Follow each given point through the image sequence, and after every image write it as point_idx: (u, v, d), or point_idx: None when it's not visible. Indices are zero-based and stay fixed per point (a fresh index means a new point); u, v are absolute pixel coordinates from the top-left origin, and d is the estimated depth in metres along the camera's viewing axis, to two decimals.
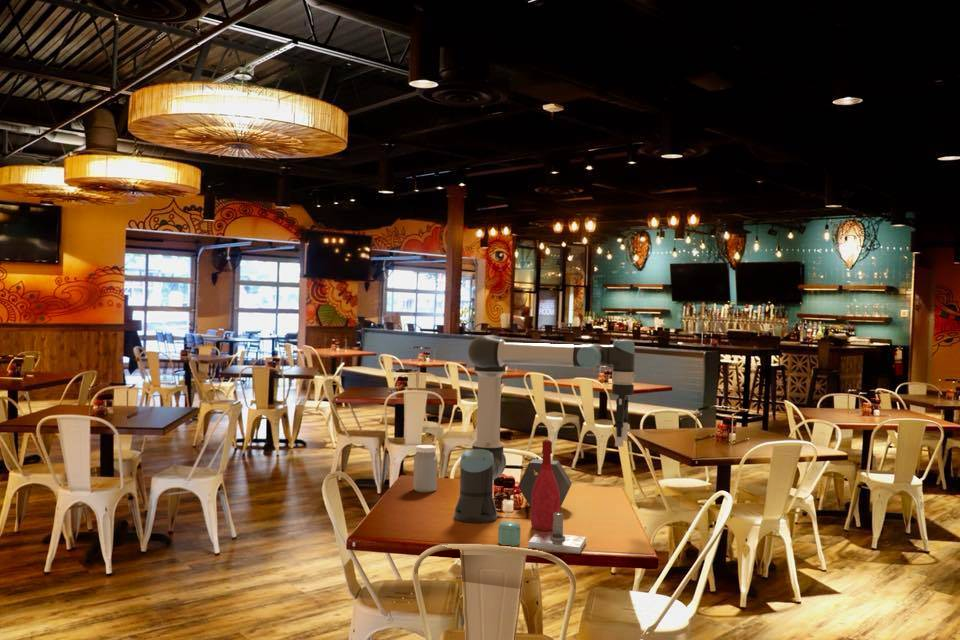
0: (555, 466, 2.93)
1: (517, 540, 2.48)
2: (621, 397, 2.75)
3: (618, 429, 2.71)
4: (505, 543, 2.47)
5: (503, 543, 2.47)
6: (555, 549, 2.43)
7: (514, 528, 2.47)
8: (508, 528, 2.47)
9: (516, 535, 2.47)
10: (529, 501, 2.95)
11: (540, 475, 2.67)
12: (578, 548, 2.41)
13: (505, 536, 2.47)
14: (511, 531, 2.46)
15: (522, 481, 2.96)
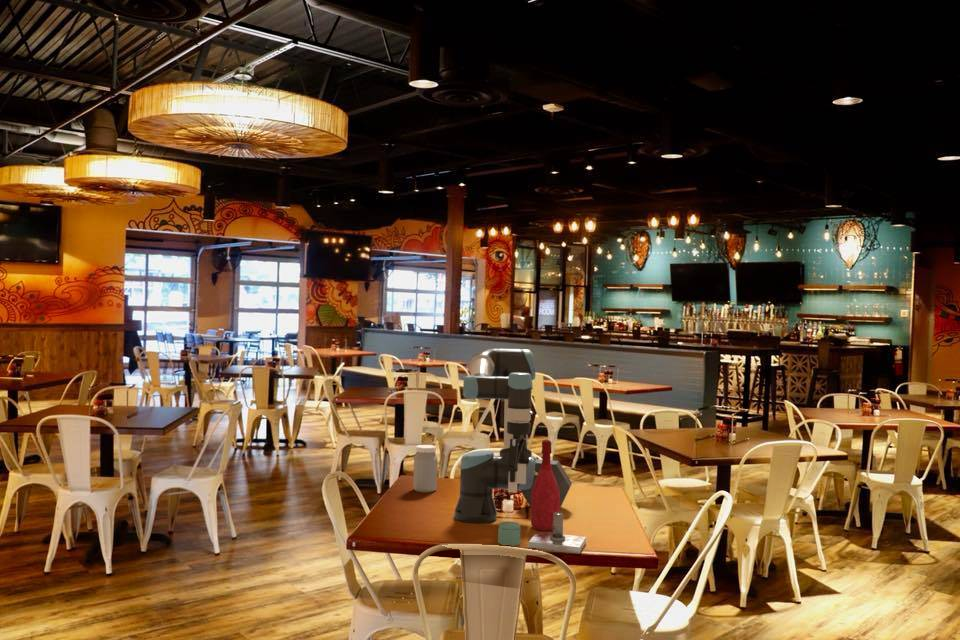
0: (555, 466, 2.93)
1: (517, 540, 2.48)
2: (516, 437, 2.48)
3: (511, 473, 2.43)
4: (505, 543, 2.47)
5: (503, 543, 2.47)
6: (555, 549, 2.43)
7: (514, 528, 2.47)
8: (508, 528, 2.47)
9: (516, 535, 2.47)
10: (529, 501, 2.95)
11: (540, 475, 2.67)
12: (578, 548, 2.41)
13: (505, 536, 2.47)
14: (511, 531, 2.46)
15: None
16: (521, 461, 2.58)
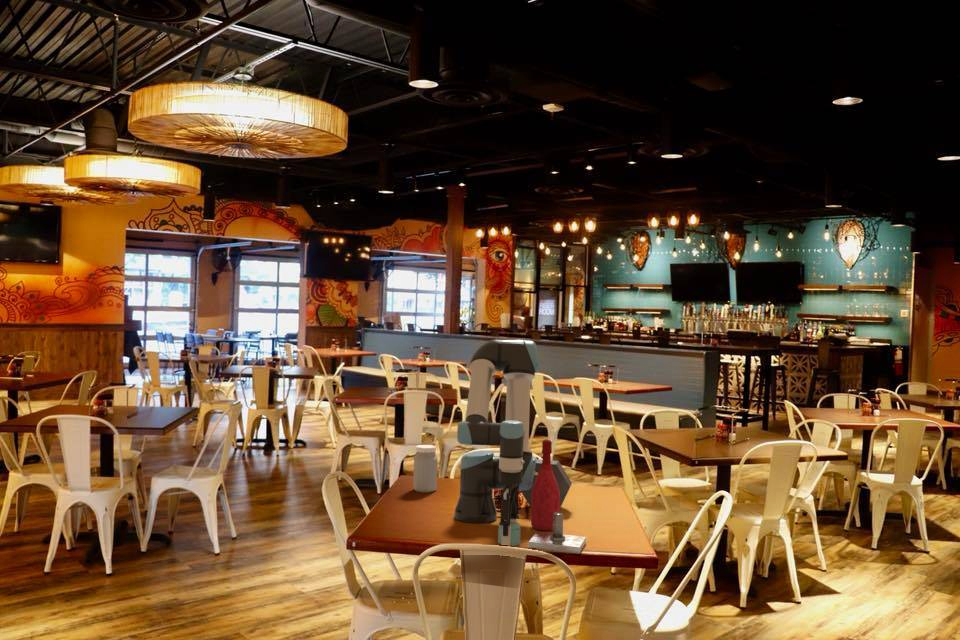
0: (555, 466, 2.93)
1: (517, 540, 2.48)
2: (507, 487, 2.46)
3: (504, 527, 2.45)
4: None
5: None
6: (555, 549, 2.43)
7: (514, 528, 2.47)
8: None
9: (516, 535, 2.47)
10: (529, 501, 2.95)
11: (540, 475, 2.68)
12: (578, 548, 2.41)
13: None
14: (511, 531, 2.46)
15: None
16: (511, 516, 2.54)
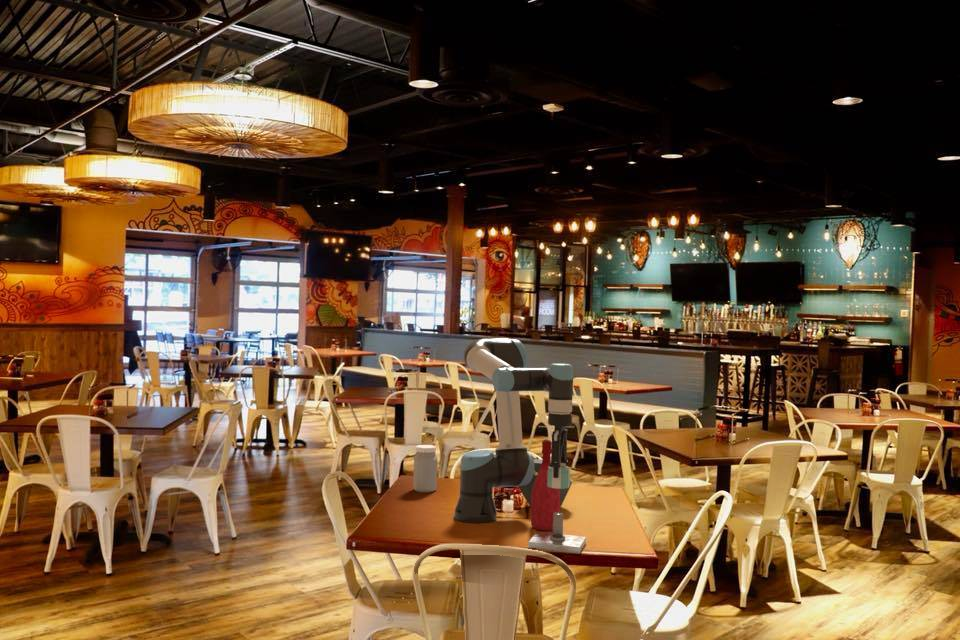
0: None
1: (567, 483, 2.46)
2: (557, 428, 2.45)
3: (555, 469, 2.43)
4: None
5: None
6: (555, 549, 2.43)
7: (564, 471, 2.45)
8: None
9: (566, 478, 2.46)
10: (529, 501, 2.95)
11: (540, 475, 2.68)
12: (578, 548, 2.41)
13: None
14: (561, 473, 2.45)
15: None
16: (560, 460, 2.52)
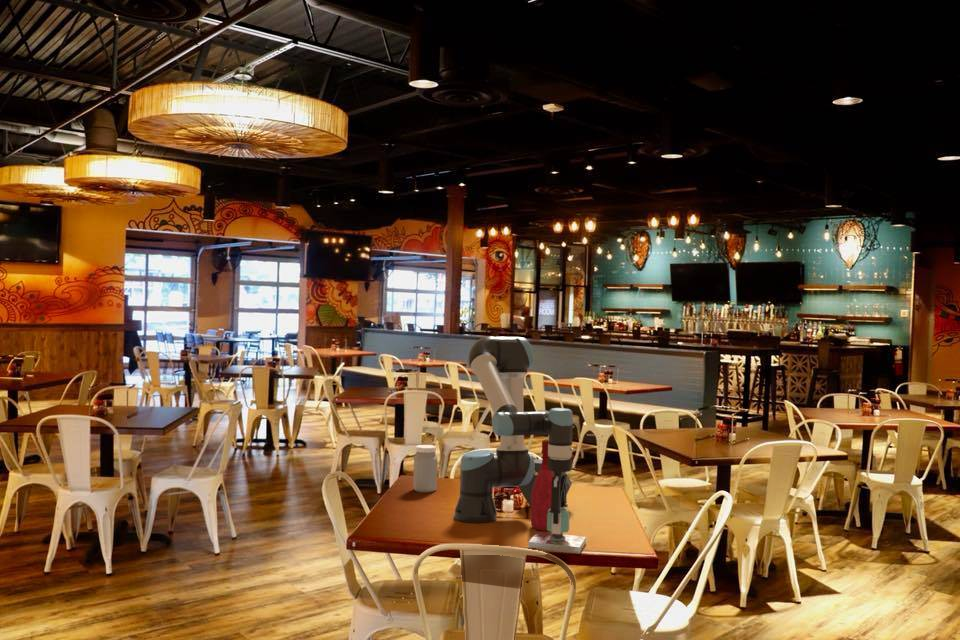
0: None
1: (566, 527, 2.46)
2: (557, 474, 2.45)
3: (554, 515, 2.43)
4: None
5: None
6: (555, 549, 2.43)
7: (564, 515, 2.45)
8: None
9: (566, 522, 2.46)
10: (529, 501, 2.95)
11: (540, 475, 2.67)
12: (578, 548, 2.41)
13: None
14: (561, 518, 2.45)
15: None
16: None
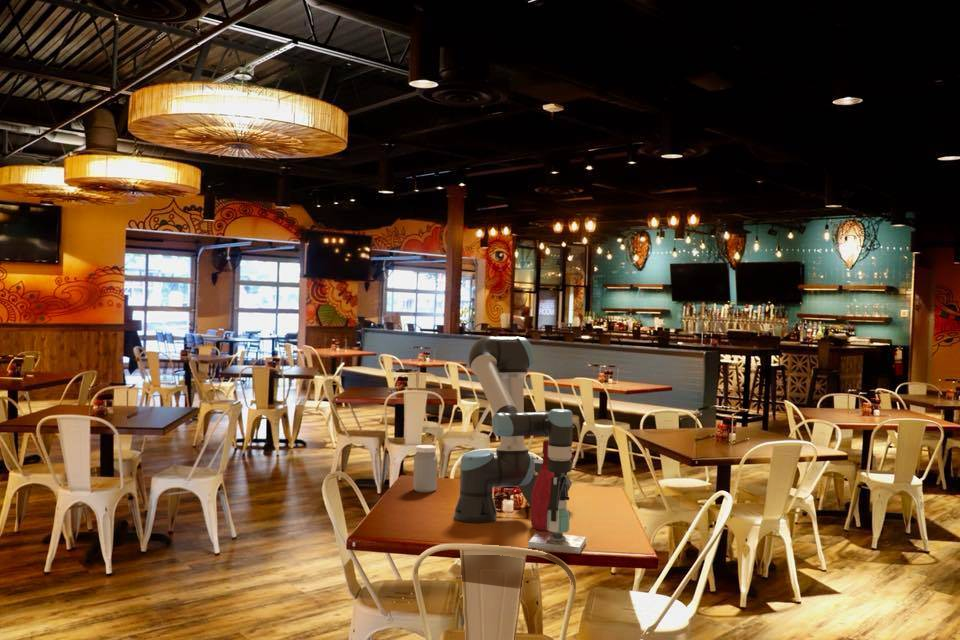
0: None
1: (566, 527, 2.46)
2: (557, 475, 2.45)
3: (552, 513, 2.41)
4: None
5: None
6: (555, 549, 2.43)
7: (564, 515, 2.45)
8: None
9: (566, 522, 2.46)
10: (529, 501, 2.95)
11: (540, 475, 2.67)
12: (578, 548, 2.41)
13: None
14: (561, 518, 2.45)
15: None
16: (561, 498, 2.55)
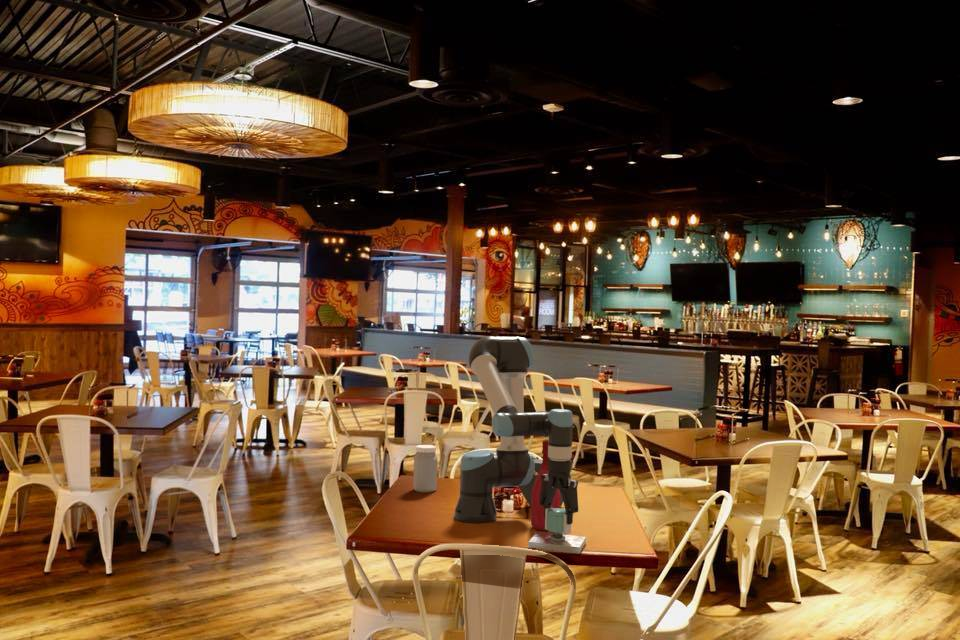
0: None
1: None
2: (568, 475, 2.46)
3: (570, 516, 2.44)
4: None
5: None
6: (555, 549, 2.43)
7: None
8: None
9: None
10: (529, 501, 2.95)
11: (540, 475, 2.67)
12: (578, 548, 2.41)
13: None
14: None
15: None
16: (547, 506, 2.51)
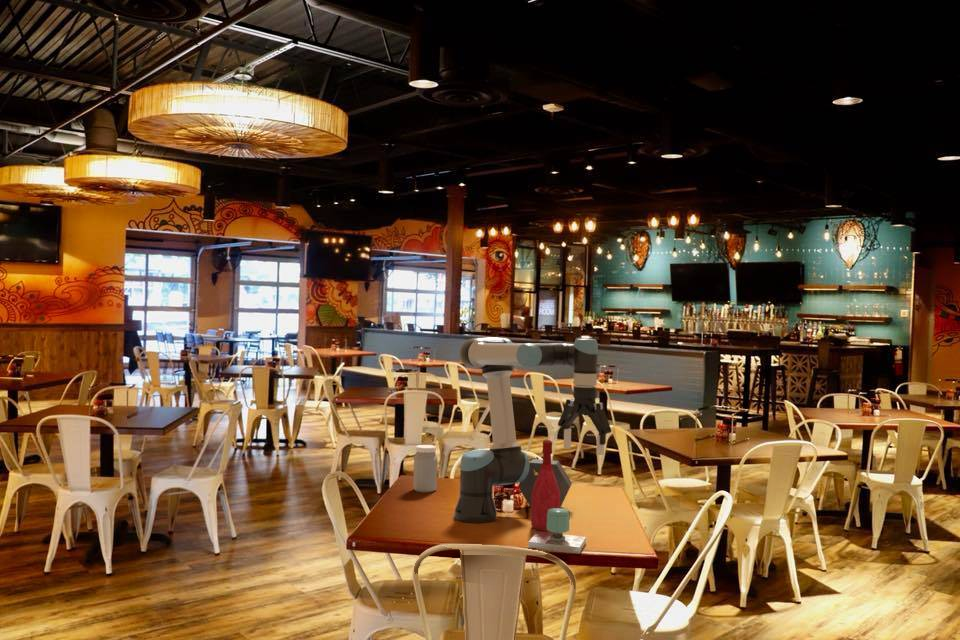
0: (555, 466, 2.93)
1: None
2: (593, 401, 2.53)
3: (604, 436, 2.49)
4: None
5: None
6: (555, 549, 2.43)
7: None
8: None
9: None
10: (529, 501, 2.95)
11: (540, 475, 2.67)
12: (578, 548, 2.41)
13: None
14: None
15: (522, 481, 2.96)
16: (566, 426, 2.60)
